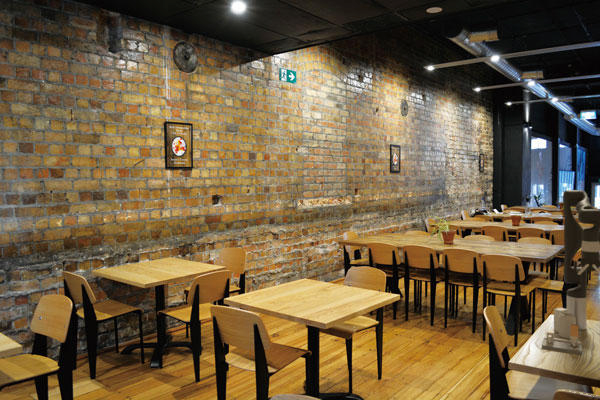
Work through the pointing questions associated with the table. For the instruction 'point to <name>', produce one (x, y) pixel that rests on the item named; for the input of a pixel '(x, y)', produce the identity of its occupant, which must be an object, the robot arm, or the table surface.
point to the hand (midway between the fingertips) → (590, 282)
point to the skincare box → (556, 317)
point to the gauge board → (560, 344)
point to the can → (566, 324)
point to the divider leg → (574, 335)
